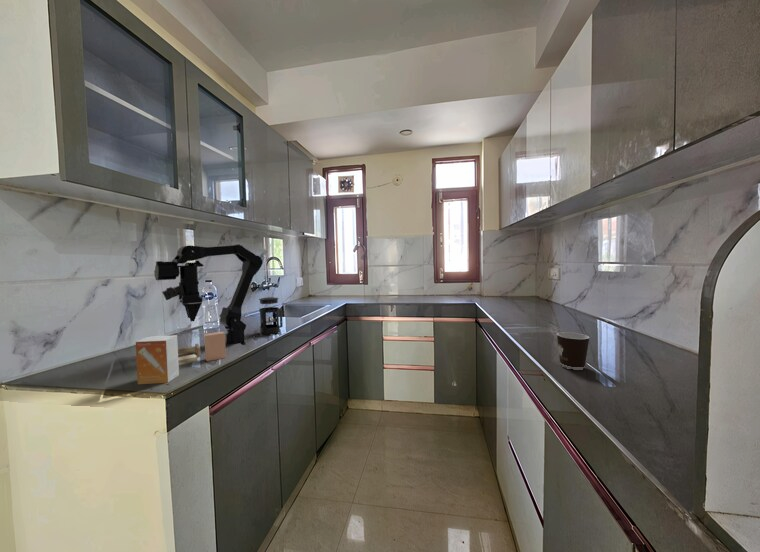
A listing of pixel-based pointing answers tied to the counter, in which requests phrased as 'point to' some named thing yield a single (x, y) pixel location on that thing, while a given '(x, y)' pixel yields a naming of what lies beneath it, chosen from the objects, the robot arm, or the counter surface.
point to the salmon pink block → (215, 346)
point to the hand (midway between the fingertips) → (191, 319)
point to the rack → (190, 350)
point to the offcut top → (187, 359)
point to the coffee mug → (572, 348)
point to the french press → (271, 327)
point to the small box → (157, 359)
